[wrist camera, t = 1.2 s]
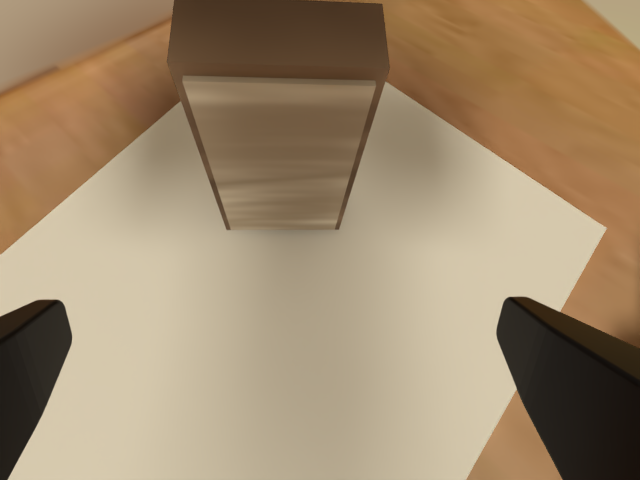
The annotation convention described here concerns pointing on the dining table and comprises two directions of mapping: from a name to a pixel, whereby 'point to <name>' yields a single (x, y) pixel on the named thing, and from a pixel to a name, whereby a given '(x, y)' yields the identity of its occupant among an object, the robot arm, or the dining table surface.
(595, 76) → the dining table surface
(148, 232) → the mat
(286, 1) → the wood grain block
